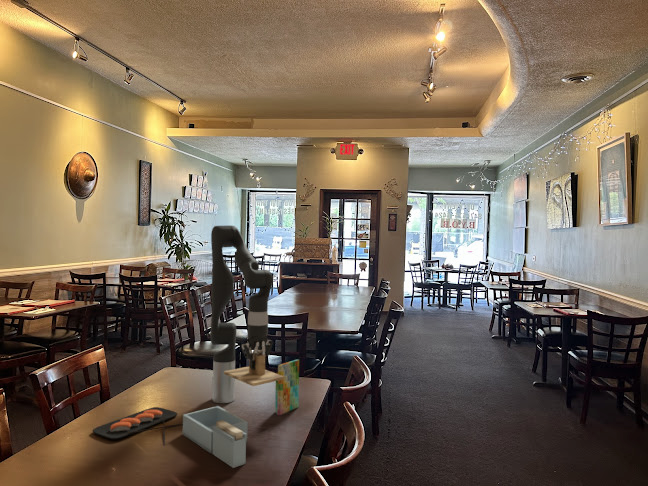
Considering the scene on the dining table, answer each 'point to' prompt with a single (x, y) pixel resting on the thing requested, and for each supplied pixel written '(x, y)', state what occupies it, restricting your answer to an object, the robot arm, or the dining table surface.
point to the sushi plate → (136, 423)
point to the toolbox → (217, 434)
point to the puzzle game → (287, 387)
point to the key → (230, 429)
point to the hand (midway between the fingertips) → (256, 368)
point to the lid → (254, 373)
